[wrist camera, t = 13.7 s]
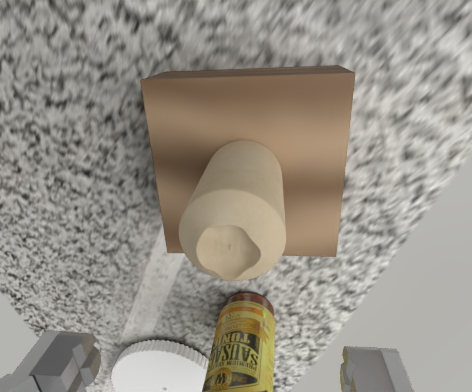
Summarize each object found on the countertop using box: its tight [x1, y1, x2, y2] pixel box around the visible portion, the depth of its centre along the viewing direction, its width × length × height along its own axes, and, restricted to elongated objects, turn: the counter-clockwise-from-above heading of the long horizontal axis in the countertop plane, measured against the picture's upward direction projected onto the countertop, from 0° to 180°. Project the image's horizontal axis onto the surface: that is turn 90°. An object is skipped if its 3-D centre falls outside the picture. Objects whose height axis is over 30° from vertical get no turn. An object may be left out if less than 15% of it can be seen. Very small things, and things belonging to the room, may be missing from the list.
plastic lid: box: [111, 340, 209, 392], centre depth 44 cm, size 14×14×2 cm
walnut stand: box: [140, 65, 355, 257], centre depth 27 cm, size 14×14×6 cm
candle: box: [179, 140, 286, 281], centre depth 20 cm, size 6×6×10 cm
